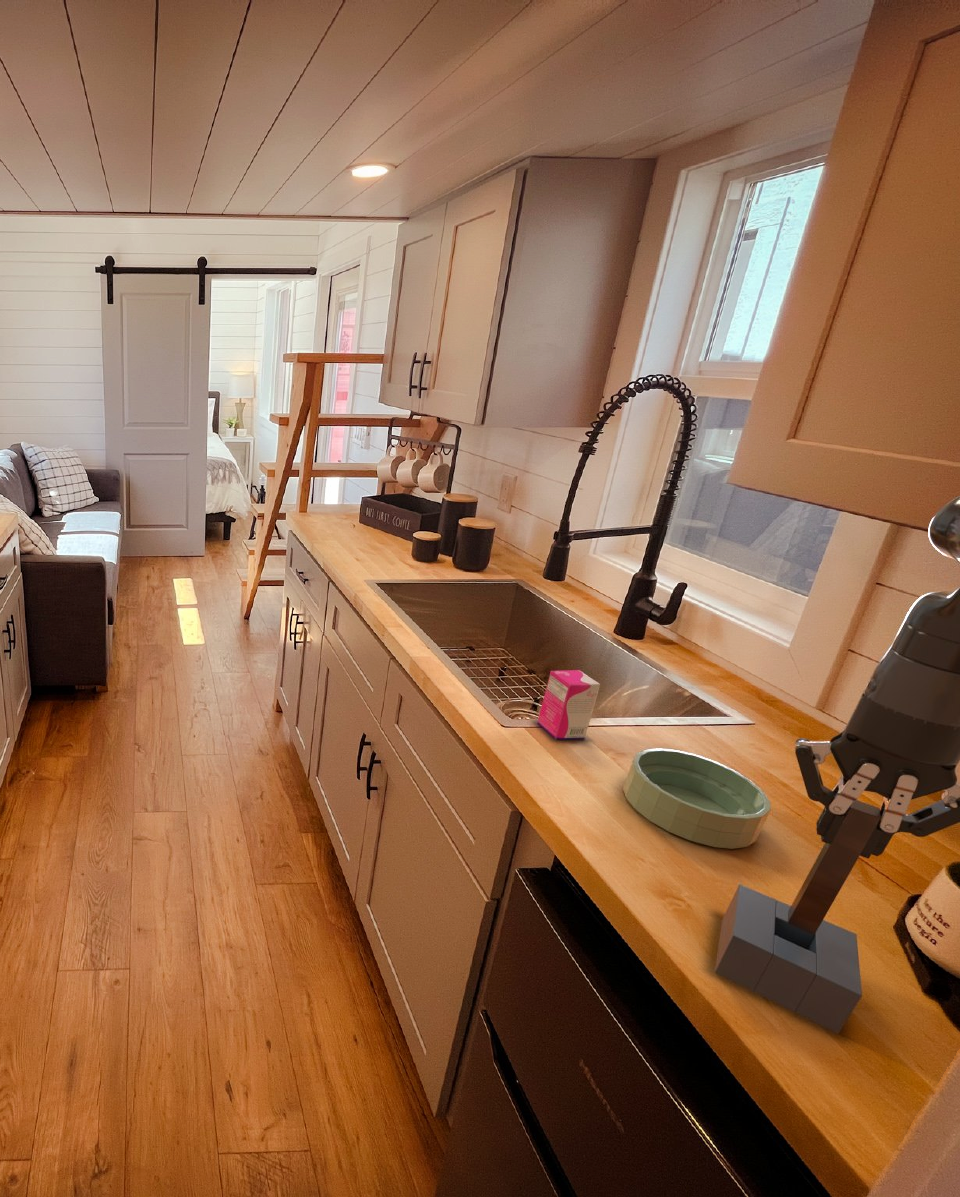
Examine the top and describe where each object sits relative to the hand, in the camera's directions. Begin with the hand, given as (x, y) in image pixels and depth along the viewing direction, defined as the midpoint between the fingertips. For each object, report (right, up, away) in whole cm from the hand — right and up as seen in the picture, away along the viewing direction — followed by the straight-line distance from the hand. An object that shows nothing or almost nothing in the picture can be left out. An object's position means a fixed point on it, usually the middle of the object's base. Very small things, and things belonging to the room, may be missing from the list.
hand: (843, 845), depth 67 cm
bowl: (+10, -7, +32) cm, 35 cm away
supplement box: (+3, +1, +52) cm, 53 cm away
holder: (-1, -17, +7) cm, 19 cm away
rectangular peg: (0, -10, +4) cm, 11 cm away
